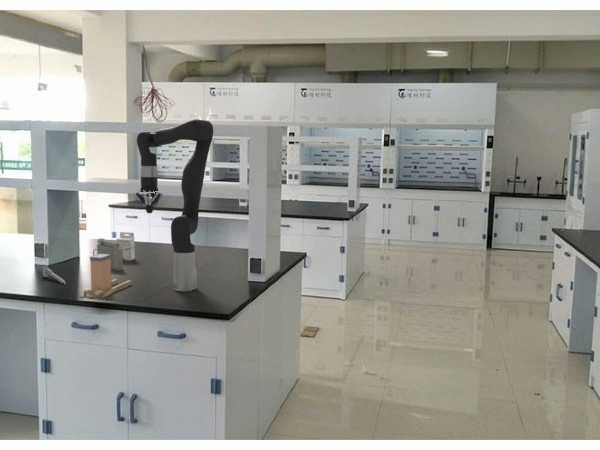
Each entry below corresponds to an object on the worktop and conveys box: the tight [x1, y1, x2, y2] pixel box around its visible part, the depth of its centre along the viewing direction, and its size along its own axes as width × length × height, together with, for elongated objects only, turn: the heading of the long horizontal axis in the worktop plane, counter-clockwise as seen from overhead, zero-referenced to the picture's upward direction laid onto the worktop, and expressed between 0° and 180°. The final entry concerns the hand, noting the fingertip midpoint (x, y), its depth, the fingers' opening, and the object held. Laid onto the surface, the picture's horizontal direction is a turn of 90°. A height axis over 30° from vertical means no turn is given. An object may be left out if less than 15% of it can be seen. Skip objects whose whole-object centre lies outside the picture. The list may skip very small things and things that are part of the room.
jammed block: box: [89, 254, 112, 291], centre depth 253 cm, size 5×7×16 cm
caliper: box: [42, 264, 67, 285], centre depth 279 cm, size 20×1×6 cm, turn 49°
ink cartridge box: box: [116, 231, 135, 261], centre depth 328 cm, size 9×5×15 cm, turn 84°
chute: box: [79, 278, 133, 301], centre depth 259 cm, size 12×24×4 cm, turn 166°
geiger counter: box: [92, 237, 124, 271], centre depth 310 cm, size 14×6×25 cm
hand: (149, 213), depth 278 cm, fingers closed
